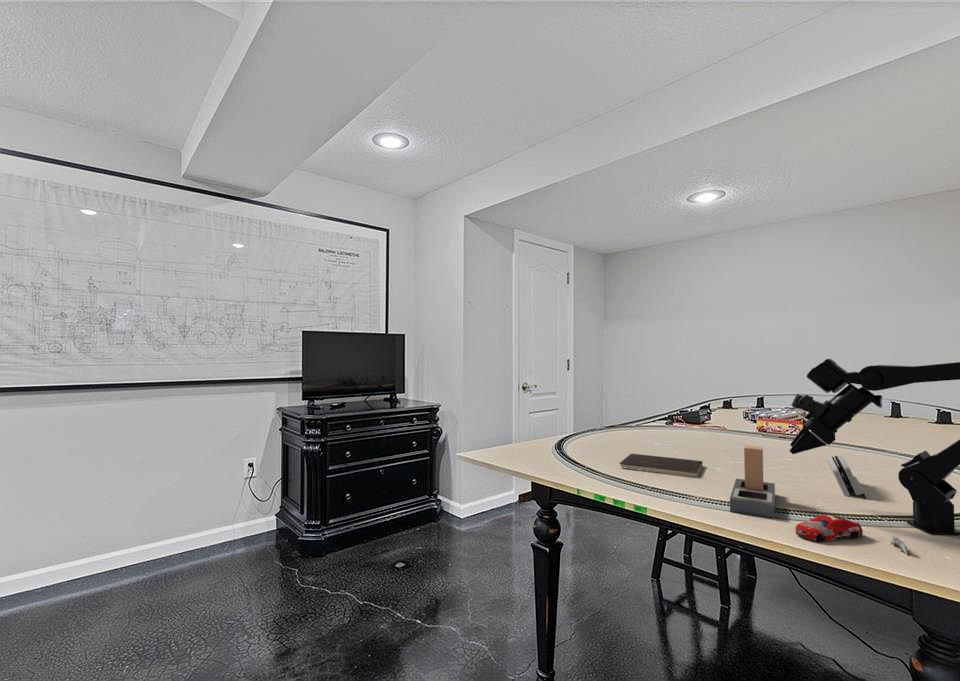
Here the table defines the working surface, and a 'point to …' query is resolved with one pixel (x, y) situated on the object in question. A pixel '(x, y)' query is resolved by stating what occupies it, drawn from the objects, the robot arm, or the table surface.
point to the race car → (829, 529)
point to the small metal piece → (899, 544)
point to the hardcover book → (662, 464)
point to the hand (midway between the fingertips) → (791, 449)
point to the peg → (753, 467)
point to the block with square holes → (753, 499)
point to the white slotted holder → (845, 477)
